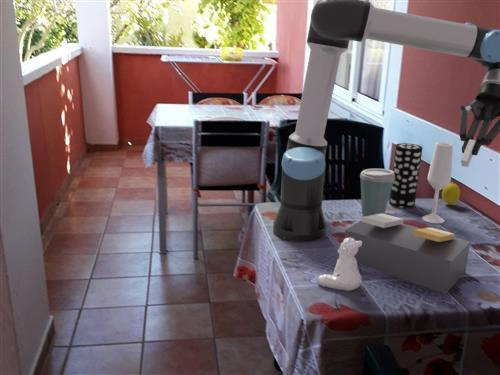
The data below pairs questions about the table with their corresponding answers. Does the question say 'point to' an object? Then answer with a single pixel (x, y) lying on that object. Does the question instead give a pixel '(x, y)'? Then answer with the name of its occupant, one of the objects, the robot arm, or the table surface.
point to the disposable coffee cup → (375, 190)
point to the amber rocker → (434, 234)
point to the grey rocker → (382, 220)
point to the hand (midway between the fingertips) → (464, 163)
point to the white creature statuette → (344, 268)
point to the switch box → (410, 255)
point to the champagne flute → (439, 175)
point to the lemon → (451, 193)
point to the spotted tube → (405, 175)
